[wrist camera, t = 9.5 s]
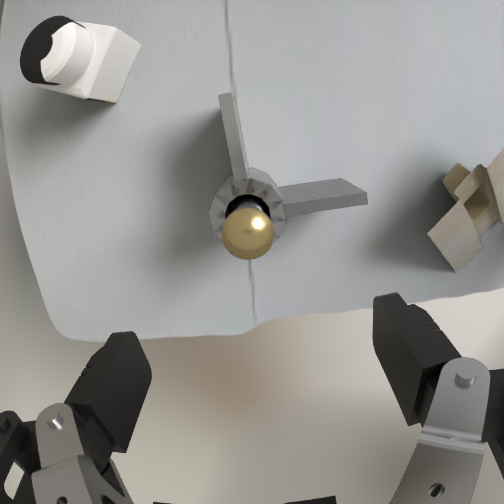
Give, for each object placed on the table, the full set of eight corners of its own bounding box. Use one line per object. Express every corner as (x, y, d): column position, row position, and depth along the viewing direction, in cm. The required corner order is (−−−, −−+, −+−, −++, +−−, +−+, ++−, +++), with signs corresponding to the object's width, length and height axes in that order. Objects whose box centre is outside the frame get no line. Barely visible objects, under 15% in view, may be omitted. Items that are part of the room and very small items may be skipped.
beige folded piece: (488, 150, 33) (484, 94, 22) (530, 192, 29) (547, 148, 18) (418, 227, 40) (390, 200, 29) (456, 273, 36) (446, 265, 25)
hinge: (328, 90, 28) (350, 78, 21) (344, 210, 33) (369, 232, 25) (202, 109, 29) (185, 102, 22) (226, 229, 34) (218, 257, 26)
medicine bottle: (68, 90, 28) (0, 83, 17) (91, 34, 25) (31, 6, 14) (117, 104, 29) (55, 96, 18) (142, 45, 26) (92, 10, 15)
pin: (263, 178, 32) (269, 205, 20) (268, 209, 33) (277, 255, 21) (230, 183, 32) (216, 214, 20) (236, 215, 33) (227, 263, 21)
